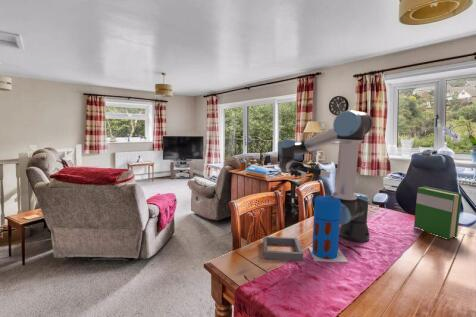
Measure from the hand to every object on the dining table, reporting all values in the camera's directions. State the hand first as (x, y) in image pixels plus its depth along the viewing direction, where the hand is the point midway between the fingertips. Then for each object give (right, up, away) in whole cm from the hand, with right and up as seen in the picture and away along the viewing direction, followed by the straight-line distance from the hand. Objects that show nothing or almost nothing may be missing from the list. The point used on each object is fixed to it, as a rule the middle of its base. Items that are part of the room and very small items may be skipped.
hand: (317, 175), depth 121 cm
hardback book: (+72, -34, +22) cm, 82 cm away
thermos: (+2, -35, -5) cm, 35 cm away
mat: (+3, -35, -5) cm, 36 cm away
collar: (-17, -35, -2) cm, 39 cm away
